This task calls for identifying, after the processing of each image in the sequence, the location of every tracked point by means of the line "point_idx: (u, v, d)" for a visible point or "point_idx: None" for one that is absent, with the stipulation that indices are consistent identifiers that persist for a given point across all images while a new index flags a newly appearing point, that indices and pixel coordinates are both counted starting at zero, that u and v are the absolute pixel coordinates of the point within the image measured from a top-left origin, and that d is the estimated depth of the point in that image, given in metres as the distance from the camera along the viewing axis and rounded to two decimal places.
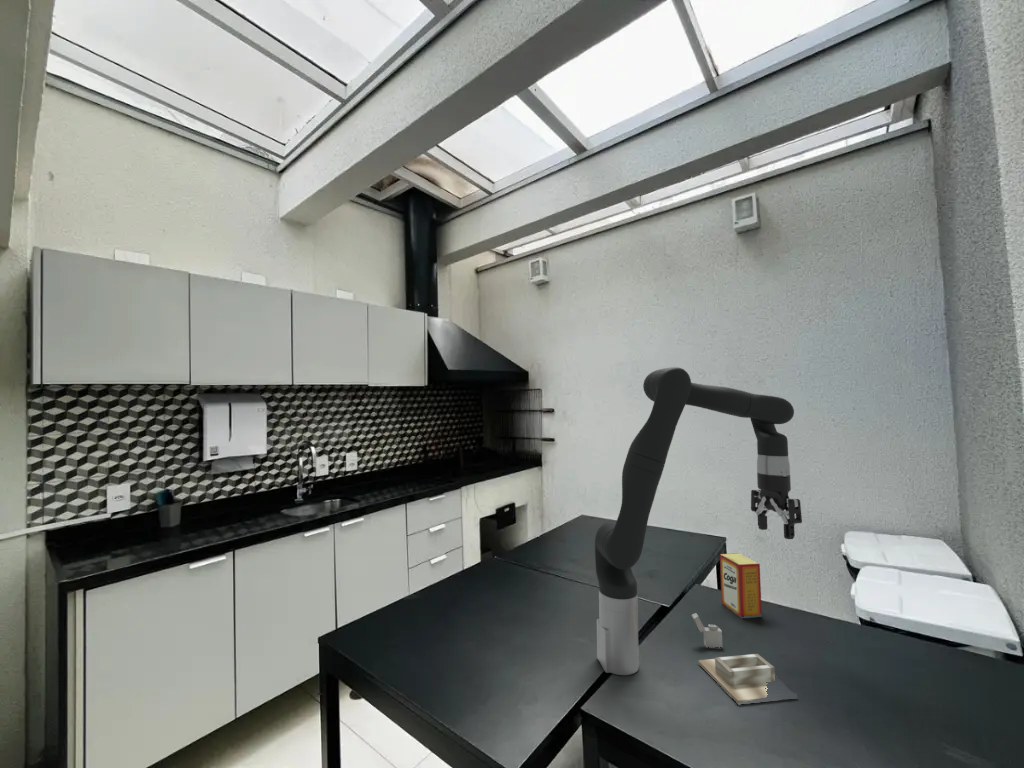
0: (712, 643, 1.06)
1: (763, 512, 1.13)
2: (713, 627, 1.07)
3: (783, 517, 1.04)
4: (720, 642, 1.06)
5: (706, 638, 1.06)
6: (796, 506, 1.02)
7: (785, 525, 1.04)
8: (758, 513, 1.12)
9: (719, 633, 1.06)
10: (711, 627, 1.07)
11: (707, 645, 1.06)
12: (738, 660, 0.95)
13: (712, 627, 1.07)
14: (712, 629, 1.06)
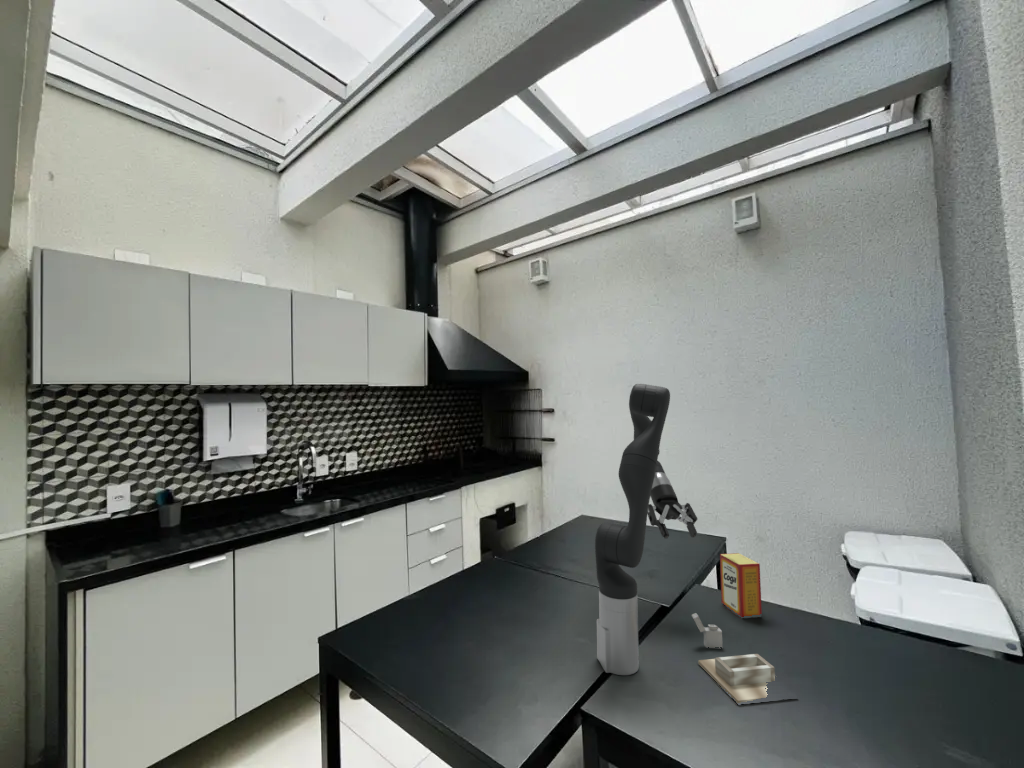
0: (712, 643, 1.06)
1: None
2: (713, 627, 1.07)
3: (687, 517, 1.24)
4: (720, 642, 1.06)
5: (706, 638, 1.06)
6: None
7: (691, 523, 1.22)
8: (662, 521, 1.22)
9: (719, 633, 1.06)
10: (711, 627, 1.07)
11: (707, 645, 1.06)
12: (738, 660, 0.95)
13: (712, 627, 1.07)
14: (712, 629, 1.06)
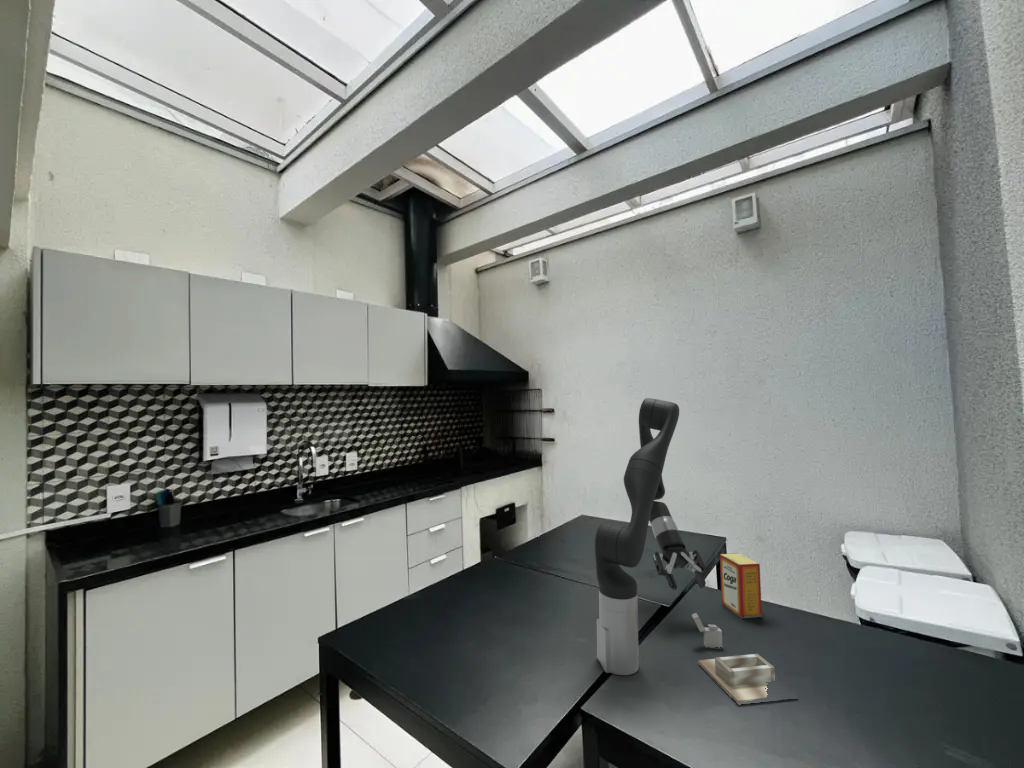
0: (712, 643, 1.06)
1: None
2: (713, 627, 1.07)
3: (696, 566, 1.19)
4: (720, 642, 1.06)
5: (706, 638, 1.06)
6: None
7: (699, 573, 1.18)
8: (670, 571, 1.17)
9: (719, 633, 1.06)
10: (711, 627, 1.07)
11: (707, 645, 1.06)
12: (738, 660, 0.95)
13: (712, 627, 1.07)
14: (712, 629, 1.06)
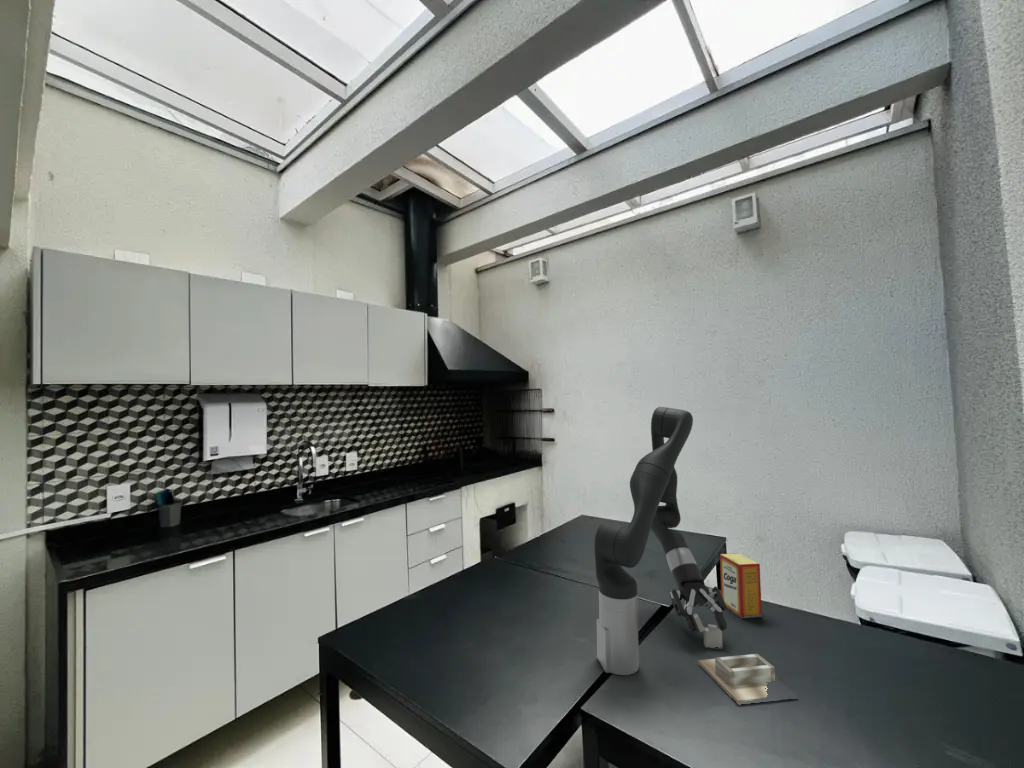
0: (712, 643, 1.06)
1: None
2: (713, 627, 1.07)
3: (715, 606, 1.09)
4: (720, 642, 1.06)
5: (706, 638, 1.06)
6: None
7: (720, 614, 1.08)
8: (690, 612, 1.08)
9: (719, 633, 1.06)
10: (711, 627, 1.07)
11: (707, 645, 1.06)
12: (738, 660, 0.95)
13: (712, 627, 1.07)
14: (712, 629, 1.06)
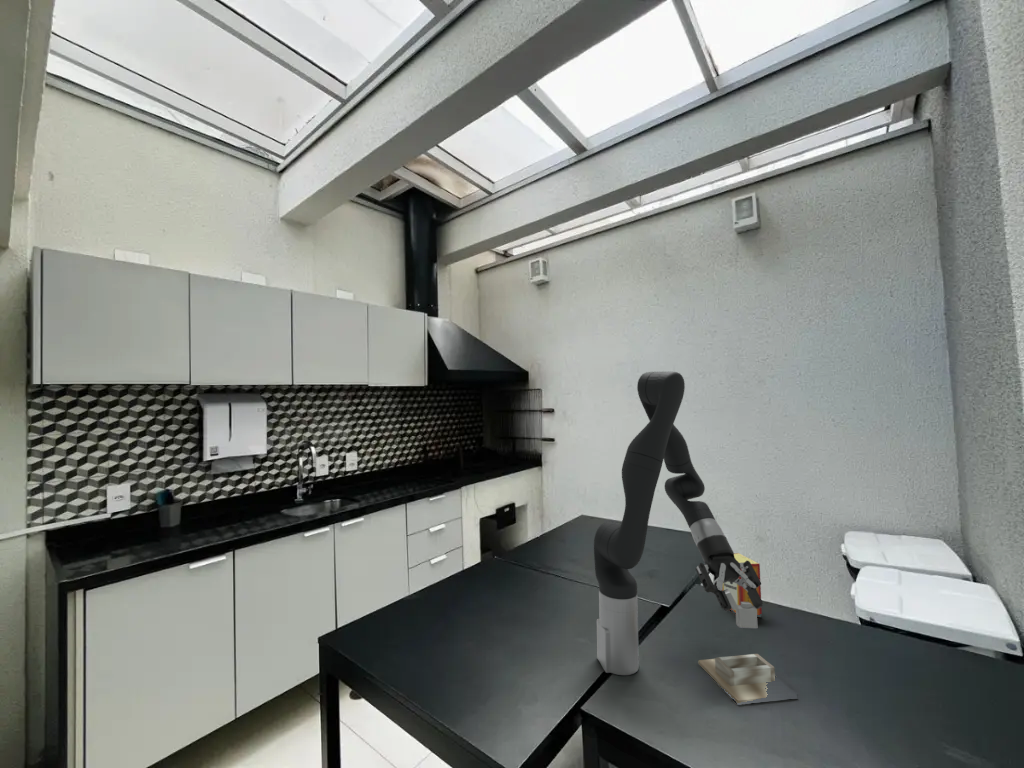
0: (746, 622, 0.94)
1: None
2: (747, 604, 0.94)
3: (749, 581, 0.97)
4: (755, 621, 0.94)
5: (739, 617, 0.94)
6: None
7: (754, 590, 0.96)
8: (721, 588, 0.95)
9: (754, 611, 0.94)
10: (745, 604, 0.94)
11: (740, 625, 0.94)
12: (738, 660, 0.95)
13: (746, 604, 0.94)
14: (746, 607, 0.94)
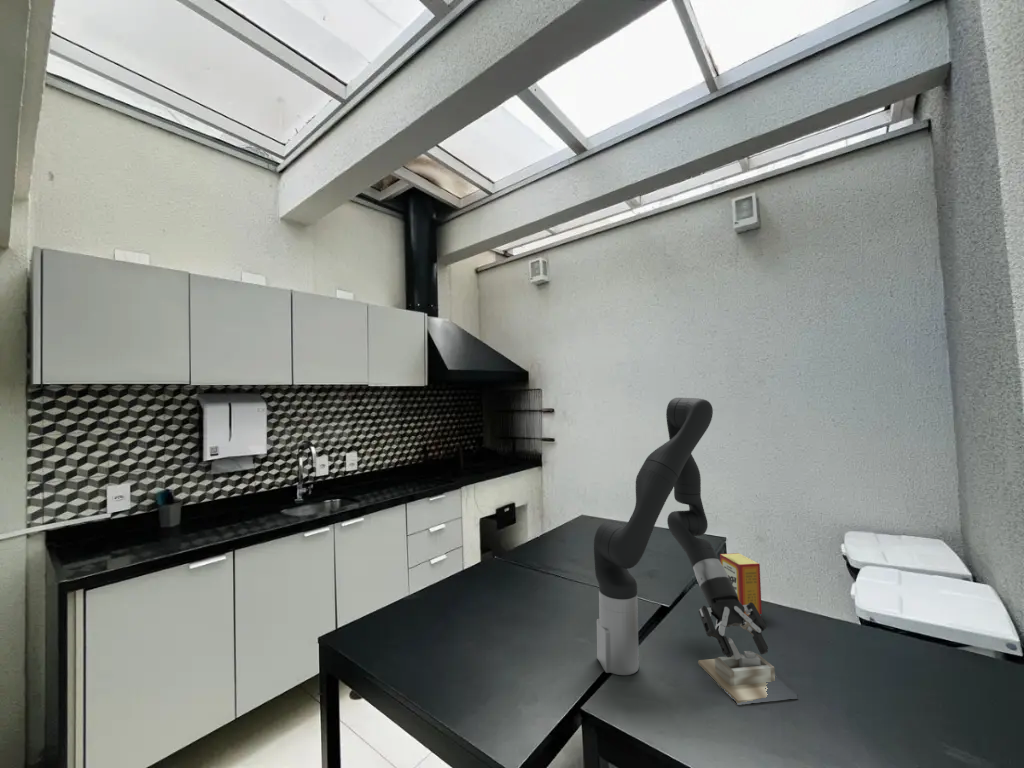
0: None
1: None
2: (750, 654, 0.93)
3: (754, 625, 0.96)
4: None
5: None
6: None
7: (759, 635, 0.95)
8: (723, 633, 0.94)
9: (757, 661, 0.92)
10: (748, 654, 0.93)
11: None
12: (738, 660, 0.95)
13: (749, 654, 0.93)
14: (749, 656, 0.93)
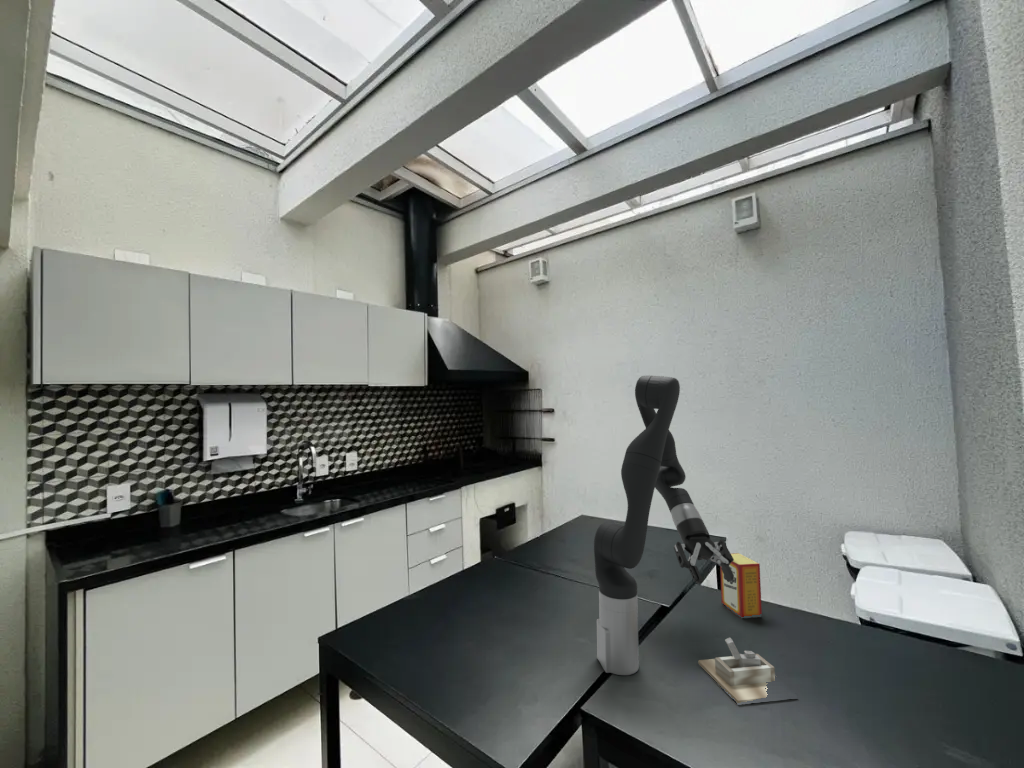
0: None
1: None
2: (750, 654, 0.93)
3: (722, 558, 1.07)
4: None
5: None
6: None
7: (726, 565, 1.06)
8: (694, 563, 1.06)
9: (757, 661, 0.92)
10: (748, 654, 0.93)
11: None
12: (738, 660, 0.95)
13: (749, 654, 0.93)
14: (749, 656, 0.93)
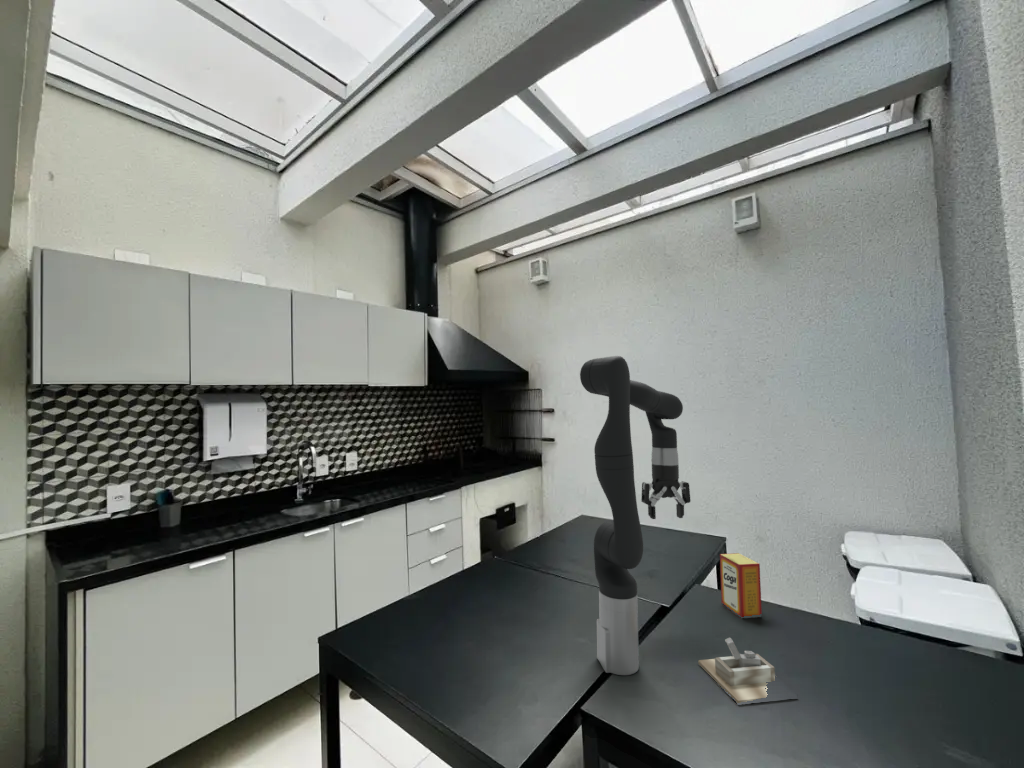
0: None
1: None
2: (750, 654, 0.93)
3: (681, 500, 1.20)
4: None
5: None
6: None
7: (681, 506, 1.20)
8: (654, 504, 1.19)
9: (757, 661, 0.92)
10: (748, 654, 0.93)
11: None
12: (738, 660, 0.95)
13: (749, 654, 0.93)
14: (749, 657, 0.93)
